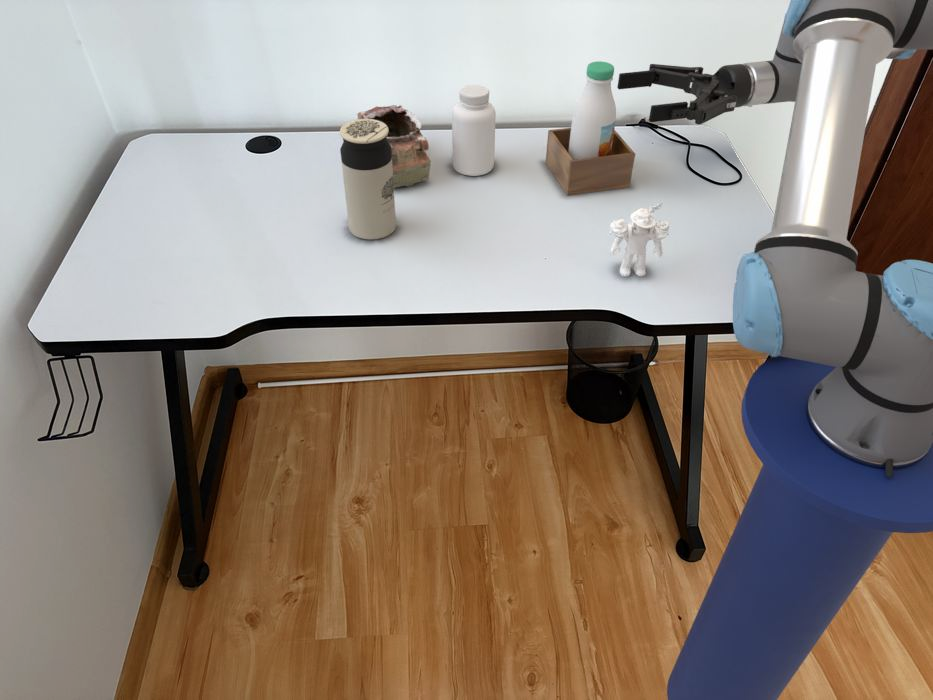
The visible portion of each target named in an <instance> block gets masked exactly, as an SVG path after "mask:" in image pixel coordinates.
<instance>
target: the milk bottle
mask: <svg viewBox="0 0 933 700" xmlns="http://www.w3.org/2000/svg"><path fill="white" fill-rule="evenodd" d="M614 74H615V66H614V65H613V64H612V63H609V62H607V61H601V60H600V61H599V60H598V61H591V62H590V63H588V64H587V67H586V75H585V79H586V82H585V85H584V88H583V90H582V92H581V93H580V95H579V97H578V98H577V101H576V102H575V105H574V108H573V111H572V112H573V113H572V119H571V125H570V128H571V133H570V142H569V151H568V154H569V155H570V156H571V158H572V159H573V160H577V159H585V158H593V157H601V156H609V155H611V148H612V142H613V135H614V130H615V127H616V118H617V107H616V102H615V98H614V95H613V91H612V82H613V80H614Z"/></svg>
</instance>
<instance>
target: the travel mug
mask: <svg viewBox="0 0 933 700" xmlns="http://www.w3.org/2000/svg"><path fill="white" fill-rule="evenodd" d="M388 132H389V129H388V127H387V125H386V124H384V123H383V122H381V121H378V120H374V119H358V118H357V119H354V120H350V121H348V122H345V123H344V124H343V125H341V127H340V130H339V135H340V137H341V138H342V140H343V142H342V144H341V146H340V149H339V152H340V160H341V161H340V162H341V169H342V178H343V187H344V195H345V205H346V213H347V224H348V230H349V232H350V233H351V235H353V236H355V237H357V238H360V239H363V240H379V239H383V238H386V237H388V236H390V235H391V234H392V233H394V231H395V230H396V227H397V220H396V219H397V218H396V201H395V188H394V184H393V168H392V151H391V145H390V144H389V142H388V141H387V134H388Z"/></svg>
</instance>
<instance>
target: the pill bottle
mask: <svg viewBox="0 0 933 700" xmlns="http://www.w3.org/2000/svg"><path fill="white" fill-rule="evenodd" d="M458 94H459V97H458V102H457V103H456V104H455V105H454V106H453V108H452V110H451V139H452V141H451V143H452V148H451V150H452V154H451V155H452V157H451V158H452V166H453V169H454V171H456V172H457V173H458V174H461V175H463V176H469V177H476V176H478V177H479V176H483V175H487V174H488V173H490V172H491V171H492V170H493V169H494V166H495V148H496V117H497V116H496V115H497V114H496V112H497V111H496V108H495V106H494V105H493V104H492V103H491V102H490V101H489V100H490V90H489V89H488V88H487V87H486V86H483V85H479V84H469V85H465V86H463V87H461V88H460V89H459V93H458Z"/></svg>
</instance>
